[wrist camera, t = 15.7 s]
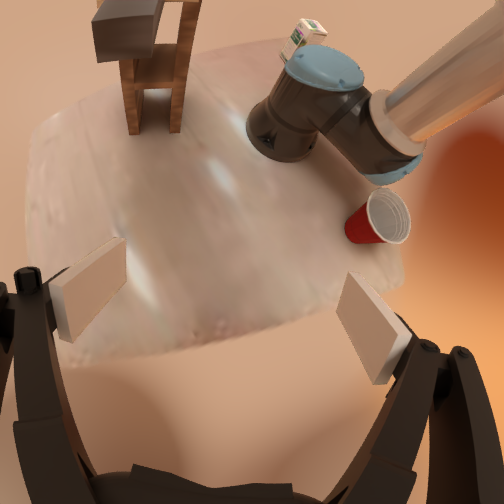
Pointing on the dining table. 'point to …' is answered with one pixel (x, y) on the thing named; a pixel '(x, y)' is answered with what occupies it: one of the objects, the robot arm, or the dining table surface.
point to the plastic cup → (380, 219)
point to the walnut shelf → (160, 72)
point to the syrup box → (303, 37)
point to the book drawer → (126, 28)
